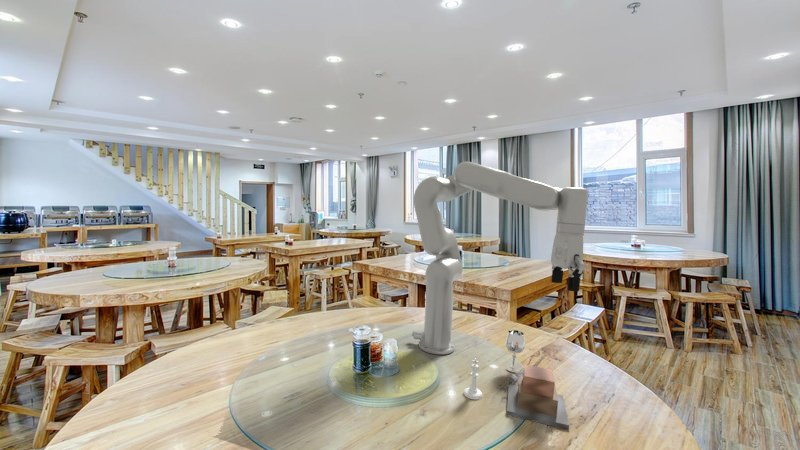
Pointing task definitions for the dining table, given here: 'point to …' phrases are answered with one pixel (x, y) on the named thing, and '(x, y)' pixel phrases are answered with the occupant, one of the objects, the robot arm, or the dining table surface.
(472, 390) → the chess piece
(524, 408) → the stepped pedestal
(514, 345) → the wineglass
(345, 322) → the dining table surface
